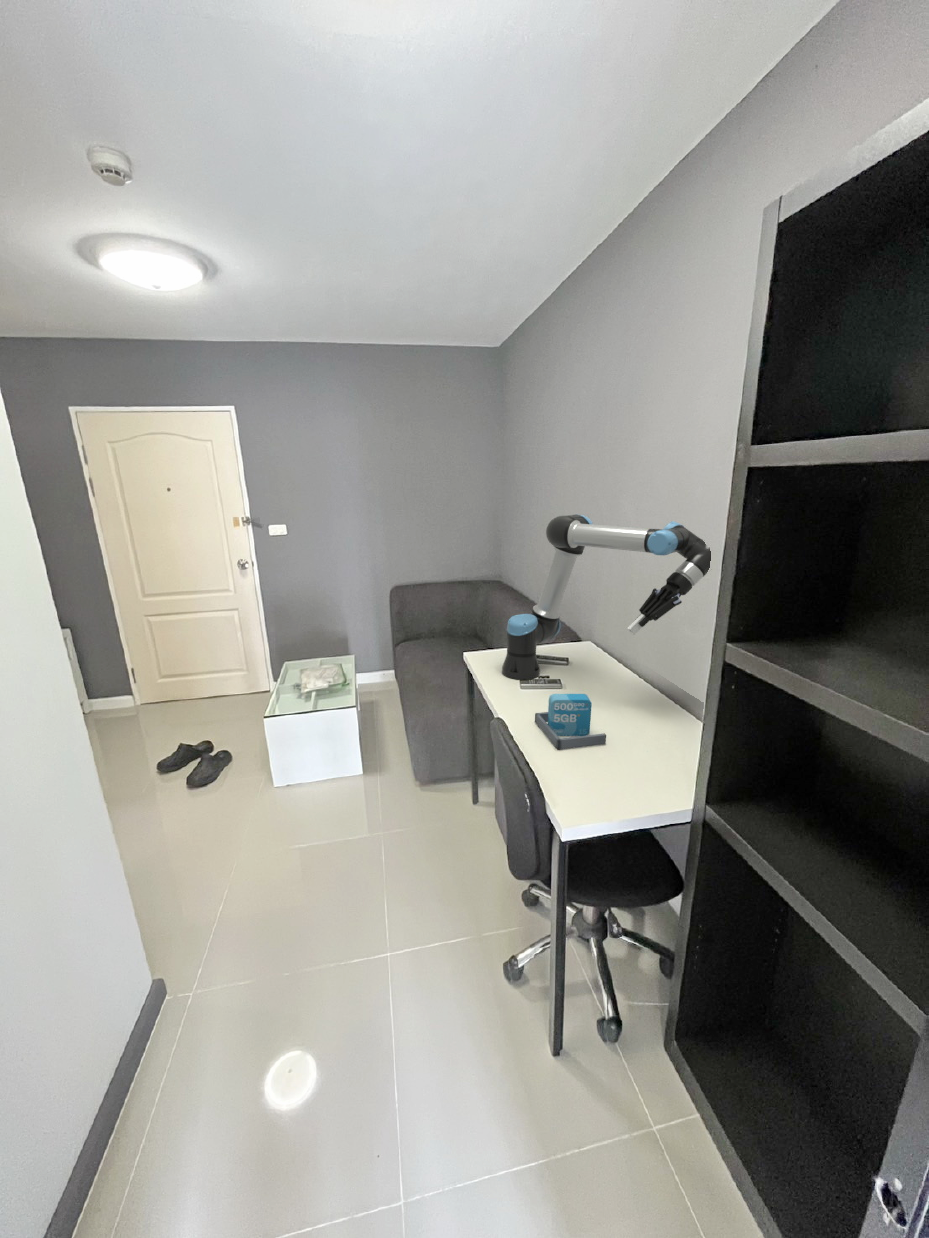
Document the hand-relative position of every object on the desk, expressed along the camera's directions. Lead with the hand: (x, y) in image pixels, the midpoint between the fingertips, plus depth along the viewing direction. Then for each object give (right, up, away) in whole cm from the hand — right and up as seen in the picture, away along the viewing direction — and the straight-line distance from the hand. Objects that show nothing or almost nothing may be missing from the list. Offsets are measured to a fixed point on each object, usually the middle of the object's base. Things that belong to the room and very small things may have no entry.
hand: (630, 631), depth 156 cm
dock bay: (-21, -31, -8) cm, 38 cm away
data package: (-22, -31, -8) cm, 39 cm away
